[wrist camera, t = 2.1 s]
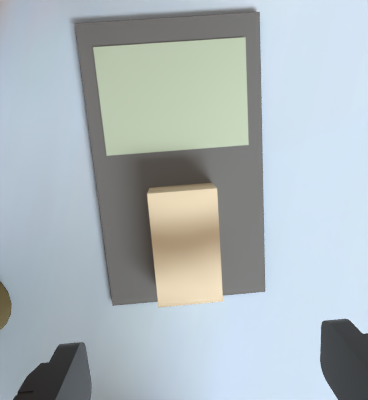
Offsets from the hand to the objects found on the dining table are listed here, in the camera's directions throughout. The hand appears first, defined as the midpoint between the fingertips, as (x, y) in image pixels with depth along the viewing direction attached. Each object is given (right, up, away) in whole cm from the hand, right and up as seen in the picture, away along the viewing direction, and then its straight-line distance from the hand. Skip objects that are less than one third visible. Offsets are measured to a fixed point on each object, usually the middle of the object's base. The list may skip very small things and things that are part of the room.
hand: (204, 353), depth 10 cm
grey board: (-1, +7, +12) cm, 14 cm away
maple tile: (-1, +2, +12) cm, 12 cm away
